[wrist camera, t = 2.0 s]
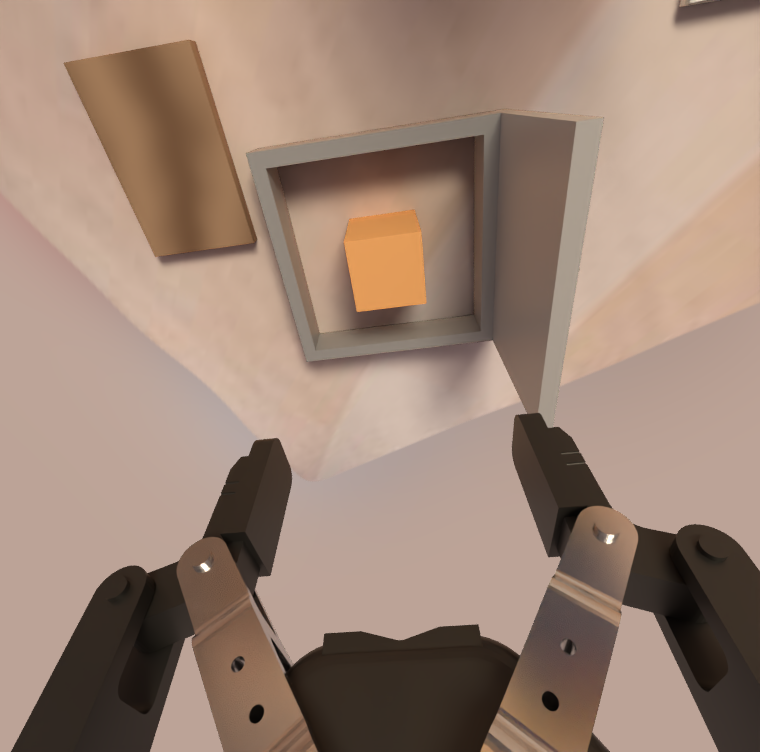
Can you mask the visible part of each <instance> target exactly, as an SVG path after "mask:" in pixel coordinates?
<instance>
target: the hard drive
mask: <svg viewBox="0 0 760 752" xmlns="http://www.w3.org/2000/svg"><path fill="white" fill-rule="evenodd" d="M713 1H718V0H680V4H679V7H684V6H689V5H695V4H701V3H707V2H713Z"/></svg>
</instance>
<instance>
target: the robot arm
mask: <svg viewBox="0 0 760 752" xmlns="http://www.w3.org/2000/svg"><path fill="white" fill-rule="evenodd" d="M512 456H513V461H514V465H515V468H516V470H517V473H518V476H519V479H520V481H521V484H522V487H523V489H524V492H525V495H526V498H527V501H528V503H529V506H530V509H531V511H532V514H533V517H534V520H535V522H536V525H537V528H538V531H539V533H540V536H541V539H542V541H543V544H544V547H545V550H546V552H547V555H548V557H558V556H560V558H561V560H560V563H559V565H558V568H557V570H556V573H555V575H554V576H553V577H552V579H551V581H550V583H549V585H548V588H547V590H546V593H545V595H544V598H543V600H542V603H541V605H540V608H539V610H538V613H537V615H536V618H535V620H534V623H533V625H532V628H531V630H530V633H529V635H528V638H527V640H526V643H525V645H524V648H523V650H522V653H521V655H518V654H517V653H516V652H514V651H513V650H511V649H510V648H508V647H507V646H505V645H503V644H501V643H499V642H497V641H495V640H492V639H490V638H486V637H482V636H480V631H479V626H478V625H462V626H445V627H438V628H435V629H432V630H429V631H427V632H424V633H421V634H419V635H416V636H413V637H410V638H408V639H405V640H394V639H390V638H386V637H382V636H378V635H374V634H370V633H366V632H361V631H360V632H344V633H326V634H324V642H323V646H321V647H318V648H316V649H315V650H313V651H311V652H309V653H308V654H306V655H305V656H303V657H302V658H301V659H299V660H298V661H297V662H296V663H295V664H294V665H293V663H292V661H291V659H290V657H289V655H288V654H287V652H286V650H285V648H284V646H283V645H282V643H281V641H280V639H279V637H278V635H277V633H276V631H275V629H274V627H273V625H272V622H271V620H270V618H269V616H268V614H267V612H266V610H265V608H264V606H263V604H262V602H261V600H260V598H259V596H258V594H257V592H256V590H255V587H256V583H257V579H258V577H261V576H270V575H271V571H272V567H273V562H274V558H275V554H276V549H277V545H278V541H279V536H280V532H281V527H282V523H283V519H284V515H285V510H286V506H287V502H288V497H289V493H290V489H291V484H292V473H291V468H290V465H289V463H288V460H287V458H286V455H285V452H284V450H283V447H282V445H281V442H280V440H279V439H278V438H274V439H264V440H256V441H255V442H254V443H253V446H252V448H251V451H250V454H249V456H245V457H241V458H240V459H239V460H238V461H237V462H236V464H235V465H234V466H233V467H232V468H231V470H230V472H229V475H228V477H227V480H226V485H224V487H223V490H222V492H221V496H220V497H219V499H218V502H217V505H216V507H215V509H214V512H213V514H212V517H211V519H210V522H209V524H208V527H207V529H206V531H205V534H204V536H203V538H202V539H201V540H199V541H197V542H196V543H194V544H193V545H191V546H190V547H189V548H188V549H187V550H186V551H185V552H184V554H183V555H182V556H181V558H180V560H179V561H178V562H176V563H173V564H170V565H168V566H165V567H163V568H160V569H158V570H155V571H152V572H150V573H146V571H145V570H144V569H143V568H141V567H139V566H127V567H124V568H122V569H120V570H118V571H116V572H114V573H113V574H111V575H110V576H109V577H108V578H106V579H105V580H104V581H103V583H102V584H101V585H100V586H99V587H98V588H97V590H96V592H95V593H94V595H93V597H92V599H91V601H90V603H89V604H88V606H87V608H86V610H85V612H84V614H83V616H82V618H81V620H80V622H79V623H78V625H77V627H76V629H75V631H74V633H73V635H72V637H71V639H70V641H69V643H68V645H67V646H66V648H65V650H64V652H63V654H62V656H61V658H60V660H59V662H58V663H57V665H56V667H55V669H54V671H53V673H52V675H51V677H50V679H49V681H48V682H47V684H46V686H45V688H44V690H43V692H42V694H41V696H40V698H39V700H38V701H37V704H36V705H35V707H34V709H33V711H32V713H31V715H30V717H29V719H28V720H27V722H26V724H25V726H24V728H23V730H22V732H21V734H20V736H19V738H18V739H17V742H16V743H15V745H14V747H13V749H12V751H11V752H150V749H151V746H152V743H153V740H154V736H155V733H156V730H157V727H158V724H159V721H160V717H161V714H162V711H163V707H164V705H165V701H166V698H167V695H168V692H169V688H170V685H171V682H172V679H173V676H174V672H175V669H176V666H177V663H178V660H179V656H180V653H181V650H182V647H183V643H184V640H185V638H187V637H190V636H192V635H194V634H195V636H194V637H193V638H192V647H193V651H194V654H195V657H196V661H197V664H198V667H199V671H200V674H201V677H202V681H203V684H204V687H205V691H206V693H207V697H208V700H209V704H210V707H211V710H212V714H213V717H214V721H215V724H216V727H217V731H218V734H219V737H220V741H221V744H222V747H223V750H224V752H610V751H609V750H608V749H607V748H606V747H605V746H604V745H603V744H602V743H601V741H600V740H598V738H597V737H596V736H595V735H594V734H593V733H592V731H593V727H594V723H595V719H596V715H597V711H598V707H599V703H600V699H601V695H602V691H603V687H604V683H605V679H606V675H607V671H608V667H609V664H610V660H611V656H612V652H613V648H614V644H615V640H616V636H617V632H618V628H619V624H620V619H621V606H622V605H627V606H630V607H634V608H638V609H641V610H645V611H649V612H653V613H654V615H655V617H656V619H657V621H658V623H659V626H660V628H661V630H662V632H663V634H664V636H665V638H666V641H667V643H668V645H669V647H670V649H671V651H672V653H673V655H674V657H675V660H676V661H677V664H678V666H679V668H680V670H681V672H682V675H683V676H684V679H685V681H686V683H687V685H688V687H689V689H690V692H691V694H692V696H693V698H694V700H695V702H696V704H697V706H698V708H699V711H700V713H701V715H702V717H703V719H704V721H705V723H706V725H707V728H708V730H709V732H710V734H711V736H712V738H713V740H714V742H715V745H716V747H717V749H718V751H719V752H760V571H759V570H758V568H757V567H756V566H755V564H754V563H753V562H752V560H751V559H750V557H749V556H748V555H747V553H746V552H745V551H744V550H743V548H742V547H741V546H740V545H739V544H738V543H737V542H736V541H735V540H734V539H732V538H731V537H730V536H728V535H727V534H725V533H723V532H721V531H719V530H717V529H715V528H712V527H709V526H705V525H696V524H694V525H688V526H685V527H683V528H681V529H680V530H679V531H678V533H677V534H671V533H667V532H661V531H656V530H651V529H647V528H643V527H640V526H637V525H635V524H632V522H631V521H630V520H629V519H628V518H627V517H626V516H624V515H623V514H621V513H620V512H618V511H616V510H614V509H613V508H612V507H611V506H610V504H609V502H608V501H607V499H606V497H605V495H604V494H603V492H602V490H601V488H600V487H599V485H598V483H597V481H596V480H595V478H594V476H593V474H592V472H591V471H590V469H589V467H588V465H587V464H586V463H585V460H584V459H583V457H582V455H581V453H579V450H578V448H577V446H576V444H575V442H574V441H573V439H572V437H570V436H569V435H568V434H567V433H565V432H564V431H563V430H562V429H561V428H559V427H553V428H548V427H547V425H546V423H545V421H544V419H543V417H542V415H541V414H540V413H531V414H521V415H516V416H515V419H514V431H513V441H512Z"/></svg>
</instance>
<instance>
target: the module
mask: <svg viewBox="0 0 760 752" xmlns="http://www.w3.org/2000/svg"><path fill="white" fill-rule="evenodd" d="M344 246H345V251H346V256H347V262H348V267H349V272H350V278H351V283H352V288H353V294H354V299H355V304H356V310H357V312H361V311H369V310H377V309H385V308H393V307H401V306H409V305H417V304H425V303H426V290H425V276H424V262H423V249H422V235H421V229H420V226H419V223H418V220H417V217H416V213H415V210H409V211H402V212H395V213H388V214H381V215H374V216H367V217H360V218H353V219H349V223H348V227H347V231H346V235H345V240H344Z"/></svg>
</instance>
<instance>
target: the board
mask: <svg viewBox="0 0 760 752" xmlns="http://www.w3.org/2000/svg"><path fill="white" fill-rule="evenodd" d="M64 65H65V67H66V69H67V71H68V73H69V76H70V78H71V80H72V82H73V84H74V86H75V88H76V90H77V92H78V95H79V97H80V99H81V101H82V103H83V105H84V107H85V109H86V111H87V114H88V116H89V118H90V120H91V122H92V124H93V126H94V128H95V130H96V133H97V135H98V137H99V139H100V141H101V143H102V145H103V147H104V149H105V152H106V154H107V156H108V158H109V160H110V162H111V164H112V166H113V168H114V171H115V173H116V175H117V177H118V179H119V181H120V183H121V185H122V187H123V190H124V192H125V194H126V196H127V198H128V200H129V202H130V204H131V206H132V209H133V211H134V213H135V215H136V217H137V219H138V221H139V223H140V225H141V228H142V230H143V232H144V234H145V236H146V238H147V240H148V242H149V244H150V247H151V249H152V251H153V253H154V255H155V257H158V256H165V255H172V254H179V253H186V252H193V251H200V250H208V249H215V248H222V247H229V246H236V245H243V244H250V243H254V242H255V241H256V240H257V237H256V234H255V231H254V227H253V224H252V221H251V218H250V215H249V211H248V208H247V205H246V202H245V199H244V195H243V192H242V189H241V186H240V183H239V179H238V176H237V173H236V170H235V167H234V163H233V160H232V157H231V154H230V151H229V147H228V144H227V141H226V138H225V135H224V131H223V128H222V125H221V122H220V119H219V115H218V112H217V109H216V106H215V103H214V99H213V96H212V93H211V90H210V87H209V83H208V80H207V77H206V74H205V71H204V67H203V64H202V61H201V58H200V55H199V51H198V48H197V45H196V42H195V41H191V40H185V41H180V42H174V43H169V44H164V45H158V46H153V47H147V48H142V49H136V50H131V51H126V52H120V53H115V54H109V55H104V56H98V57H93V58H88V59H82V60H77V61H71V62H66V63H64Z"/></svg>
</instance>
